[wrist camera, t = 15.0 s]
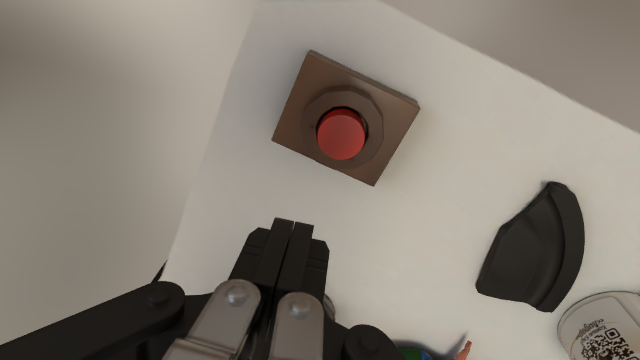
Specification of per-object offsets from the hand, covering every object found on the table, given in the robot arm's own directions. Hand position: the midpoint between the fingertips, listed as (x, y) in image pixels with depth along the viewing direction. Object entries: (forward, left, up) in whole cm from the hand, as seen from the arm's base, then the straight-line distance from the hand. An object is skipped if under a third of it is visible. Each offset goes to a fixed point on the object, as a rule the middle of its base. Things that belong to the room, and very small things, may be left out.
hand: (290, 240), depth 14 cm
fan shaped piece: (+13, -22, -21) cm, 33 cm away
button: (+1, -2, -17) cm, 17 cm away
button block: (+1, -2, -21) cm, 21 cm away
